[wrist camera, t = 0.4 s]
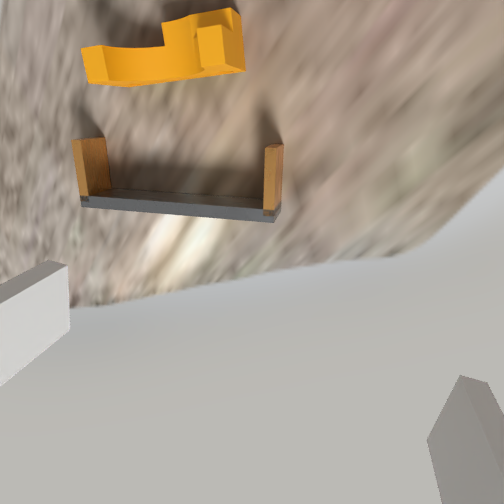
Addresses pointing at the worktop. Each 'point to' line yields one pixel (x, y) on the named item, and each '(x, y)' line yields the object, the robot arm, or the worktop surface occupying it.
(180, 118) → the worktop surface
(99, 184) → the keeper bracket
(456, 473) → the robot arm
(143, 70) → the pipe clamp
